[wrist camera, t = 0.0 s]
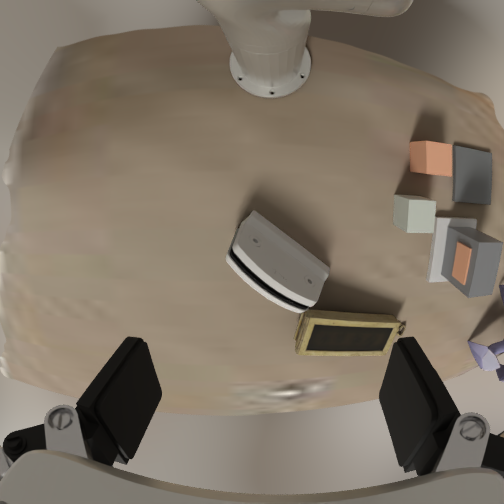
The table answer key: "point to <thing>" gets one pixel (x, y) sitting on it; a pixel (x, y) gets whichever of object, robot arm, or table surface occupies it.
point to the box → (345, 333)
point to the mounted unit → (463, 256)
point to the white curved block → (276, 264)
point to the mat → (472, 175)
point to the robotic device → (489, 352)
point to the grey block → (414, 213)
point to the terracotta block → (431, 158)
